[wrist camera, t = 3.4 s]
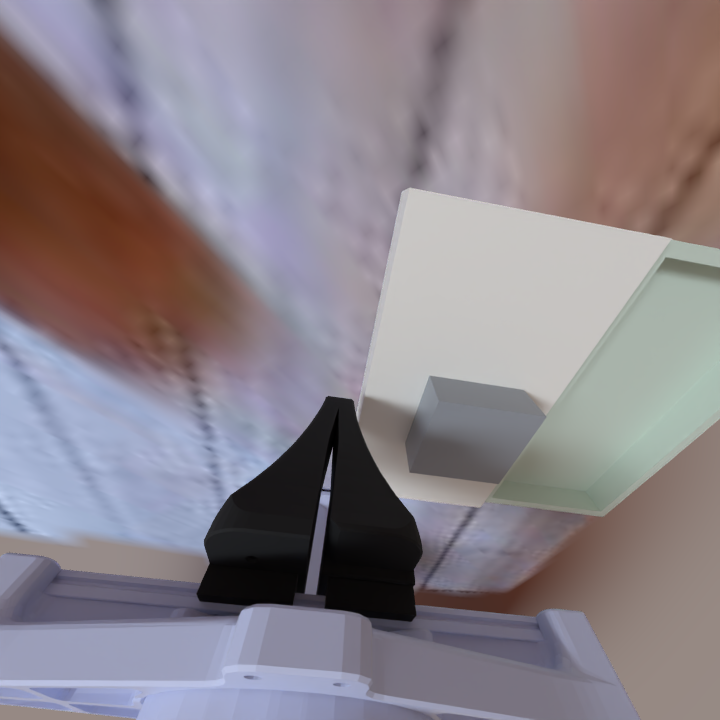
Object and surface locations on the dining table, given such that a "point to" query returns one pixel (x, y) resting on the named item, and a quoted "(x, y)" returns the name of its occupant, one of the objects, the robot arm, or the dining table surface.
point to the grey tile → (470, 430)
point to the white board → (487, 315)
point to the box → (630, 394)
